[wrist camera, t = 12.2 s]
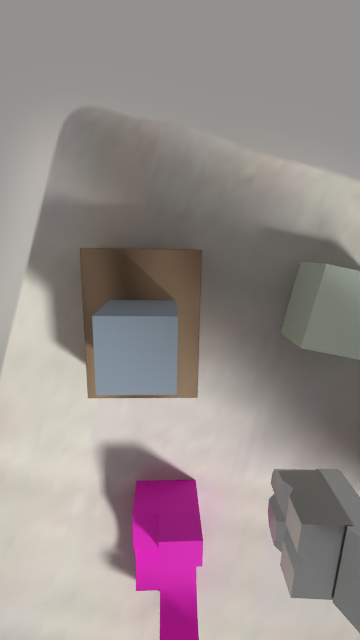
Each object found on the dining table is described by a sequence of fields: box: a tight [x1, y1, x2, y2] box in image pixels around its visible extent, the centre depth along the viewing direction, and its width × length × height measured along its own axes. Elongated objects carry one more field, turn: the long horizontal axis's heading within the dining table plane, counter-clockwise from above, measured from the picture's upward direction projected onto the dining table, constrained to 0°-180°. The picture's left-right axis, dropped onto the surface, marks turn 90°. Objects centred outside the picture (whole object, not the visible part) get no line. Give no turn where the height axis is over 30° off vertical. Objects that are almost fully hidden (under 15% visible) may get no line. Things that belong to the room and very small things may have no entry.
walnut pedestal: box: [80, 248, 202, 398], centre depth 27 cm, size 9×12×5 cm
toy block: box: [132, 480, 203, 640], centre depth 32 cm, size 15×6×8 cm, turn 0°
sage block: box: [280, 261, 360, 360], centre depth 28 cm, size 7×7×5 cm
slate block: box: [92, 300, 178, 395], centre depth 22 cm, size 5×5×6 cm
